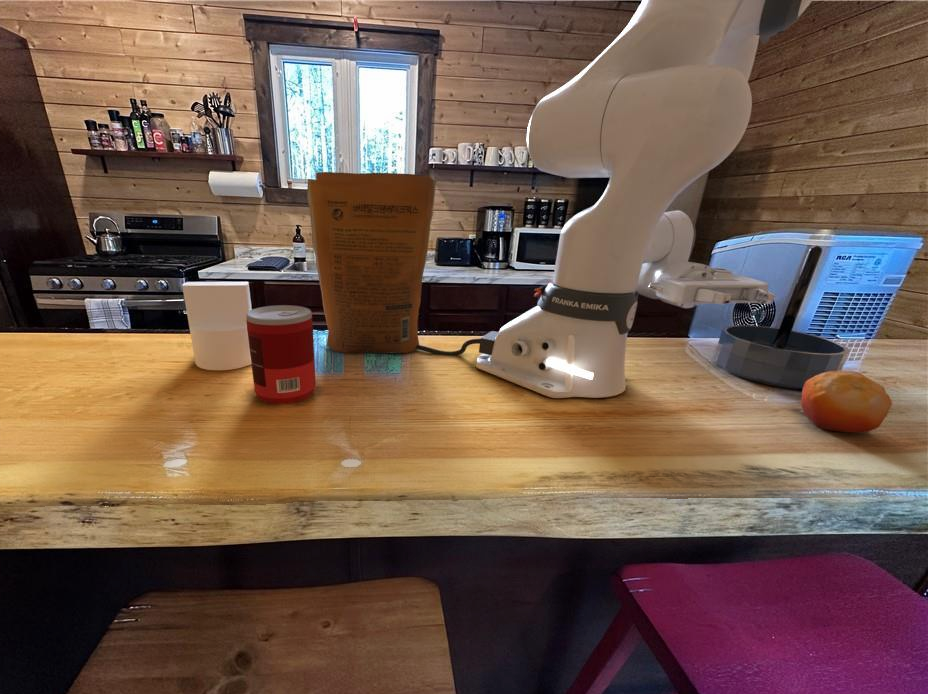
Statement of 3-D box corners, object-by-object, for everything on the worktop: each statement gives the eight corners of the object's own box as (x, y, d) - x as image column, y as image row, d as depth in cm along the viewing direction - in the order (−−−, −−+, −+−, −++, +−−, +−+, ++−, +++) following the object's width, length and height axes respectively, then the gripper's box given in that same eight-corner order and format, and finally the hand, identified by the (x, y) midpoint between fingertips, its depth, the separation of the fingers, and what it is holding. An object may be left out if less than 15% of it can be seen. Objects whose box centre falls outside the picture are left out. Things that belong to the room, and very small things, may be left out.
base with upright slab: (189, 371, 64) (174, 289, 59) (202, 352, 72) (190, 278, 67) (254, 368, 66) (245, 289, 61) (259, 349, 74) (251, 278, 69)
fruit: (848, 402, 59) (891, 364, 52) (864, 453, 54) (913, 418, 48) (778, 392, 61) (810, 355, 55) (787, 440, 57) (824, 406, 50)
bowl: (705, 372, 72) (716, 337, 69) (718, 350, 83) (728, 320, 81) (836, 402, 62) (853, 362, 60) (830, 372, 74) (844, 338, 72)
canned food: (327, 387, 60) (324, 309, 56) (289, 410, 53) (281, 323, 49) (283, 377, 63) (277, 302, 59) (242, 397, 56) (231, 314, 52)
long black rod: (750, 368, 72) (795, 245, 65) (752, 360, 76) (795, 243, 68) (790, 376, 69) (841, 248, 62) (790, 368, 73) (839, 246, 65)
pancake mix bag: (429, 357, 73) (439, 174, 62) (315, 355, 72) (304, 168, 61) (426, 345, 80) (434, 176, 69) (321, 343, 78) (312, 171, 67)
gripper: (646, 268, 84) (704, 280, 72) (732, 269, 89) (801, 281, 76) (639, 300, 87) (693, 318, 74) (722, 300, 91) (787, 316, 79)
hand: (749, 299), depth 75 cm, fingers open, 8 cm apart
